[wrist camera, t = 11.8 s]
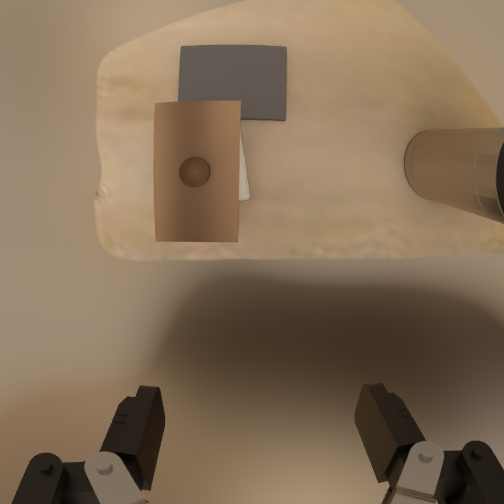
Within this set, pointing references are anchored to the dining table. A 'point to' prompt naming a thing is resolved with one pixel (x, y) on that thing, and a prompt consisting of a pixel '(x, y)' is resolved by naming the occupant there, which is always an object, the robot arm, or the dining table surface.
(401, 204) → the dining table surface
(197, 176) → the lid
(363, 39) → the dining table surface
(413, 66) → the dining table surface
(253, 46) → the mat
